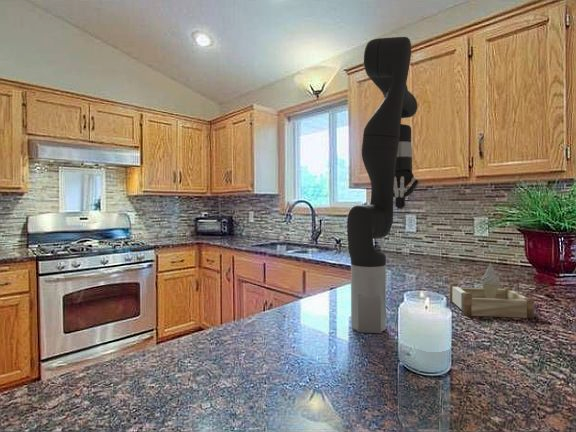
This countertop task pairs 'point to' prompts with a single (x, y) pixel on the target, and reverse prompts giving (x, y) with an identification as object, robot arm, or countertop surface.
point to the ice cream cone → (490, 282)
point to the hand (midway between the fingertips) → (400, 208)
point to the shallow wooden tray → (495, 303)
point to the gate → (457, 297)
